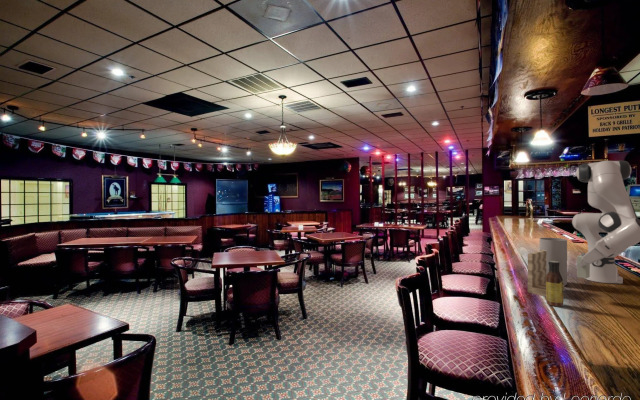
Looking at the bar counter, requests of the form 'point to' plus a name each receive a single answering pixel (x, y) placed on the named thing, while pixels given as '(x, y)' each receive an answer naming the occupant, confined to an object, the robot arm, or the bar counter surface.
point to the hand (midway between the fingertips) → (581, 265)
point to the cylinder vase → (556, 254)
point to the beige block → (582, 268)
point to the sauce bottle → (554, 285)
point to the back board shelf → (537, 272)
